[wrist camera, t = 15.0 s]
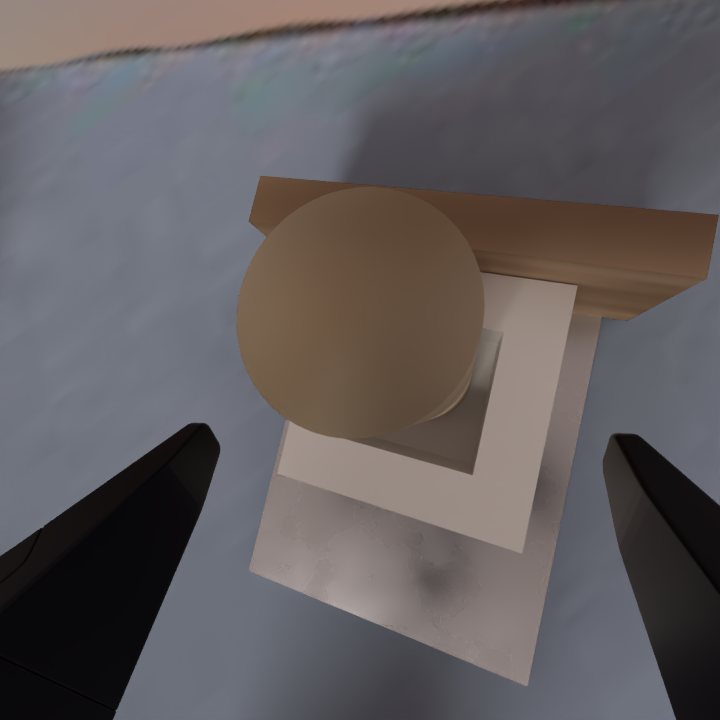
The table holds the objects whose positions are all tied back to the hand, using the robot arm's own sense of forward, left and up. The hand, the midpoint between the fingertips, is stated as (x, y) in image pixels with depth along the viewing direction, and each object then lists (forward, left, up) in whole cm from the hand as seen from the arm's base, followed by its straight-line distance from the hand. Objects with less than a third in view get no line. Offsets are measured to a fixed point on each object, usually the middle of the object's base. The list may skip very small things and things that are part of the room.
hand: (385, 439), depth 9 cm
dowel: (+1, -2, -10) cm, 10 cm away
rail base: (0, +1, -11) cm, 11 cm away
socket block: (+1, -1, -11) cm, 12 cm away
